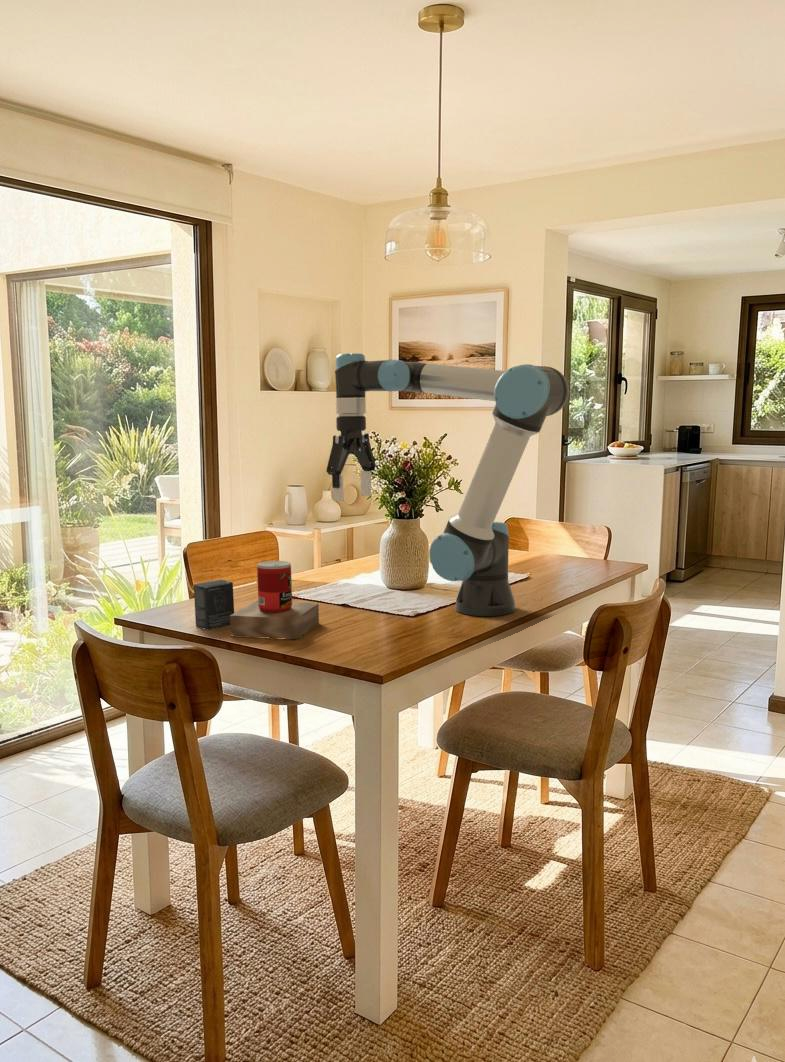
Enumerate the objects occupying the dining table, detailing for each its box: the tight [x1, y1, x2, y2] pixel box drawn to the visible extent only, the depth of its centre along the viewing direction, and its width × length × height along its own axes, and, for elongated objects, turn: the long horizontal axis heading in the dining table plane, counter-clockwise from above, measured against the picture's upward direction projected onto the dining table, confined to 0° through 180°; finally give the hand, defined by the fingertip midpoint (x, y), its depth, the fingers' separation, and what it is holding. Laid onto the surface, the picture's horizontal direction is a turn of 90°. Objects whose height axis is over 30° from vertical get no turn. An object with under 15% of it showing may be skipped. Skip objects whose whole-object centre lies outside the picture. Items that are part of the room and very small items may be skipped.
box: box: [193, 579, 235, 630], centre depth 221 cm, size 8×6×11 cm
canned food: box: [256, 560, 293, 613], centre depth 215 cm, size 8×8×11 cm
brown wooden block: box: [229, 600, 320, 640], centre depth 216 cm, size 16×16×5 cm
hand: (352, 498), depth 236 cm, fingers open, 13 cm apart
